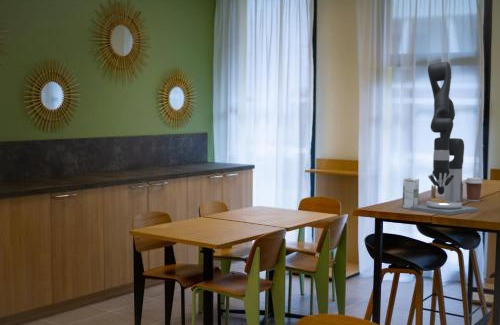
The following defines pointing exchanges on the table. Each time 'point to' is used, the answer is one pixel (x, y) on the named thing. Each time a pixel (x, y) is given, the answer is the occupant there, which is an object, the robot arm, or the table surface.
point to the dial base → (444, 210)
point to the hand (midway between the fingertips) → (440, 194)
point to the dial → (441, 202)
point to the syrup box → (410, 192)
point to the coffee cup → (473, 188)
